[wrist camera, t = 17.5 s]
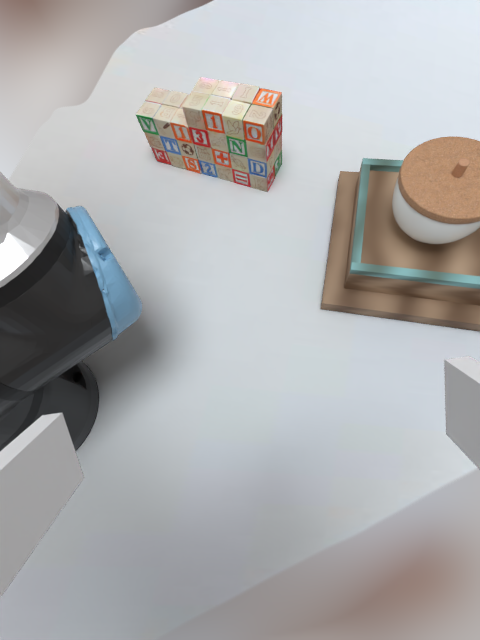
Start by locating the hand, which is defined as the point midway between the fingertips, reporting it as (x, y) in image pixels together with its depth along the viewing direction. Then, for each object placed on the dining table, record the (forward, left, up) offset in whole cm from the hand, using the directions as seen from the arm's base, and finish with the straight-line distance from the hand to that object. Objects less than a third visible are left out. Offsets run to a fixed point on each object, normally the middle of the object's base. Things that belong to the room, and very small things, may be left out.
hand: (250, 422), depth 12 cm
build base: (+14, +29, -31) cm, 45 cm away
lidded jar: (+14, +29, -25) cm, 41 cm away
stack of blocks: (-17, +42, -31) cm, 55 cm away
